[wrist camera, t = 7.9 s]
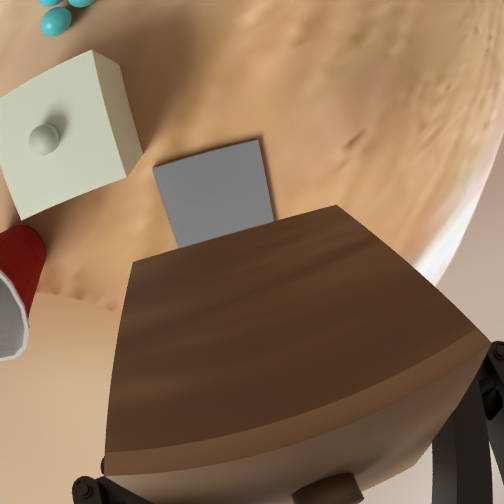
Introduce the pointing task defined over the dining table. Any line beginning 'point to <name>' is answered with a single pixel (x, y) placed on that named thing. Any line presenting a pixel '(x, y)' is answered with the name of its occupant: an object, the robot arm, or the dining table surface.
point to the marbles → (58, 16)
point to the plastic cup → (18, 286)
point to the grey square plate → (215, 192)
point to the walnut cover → (282, 367)
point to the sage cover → (66, 133)
